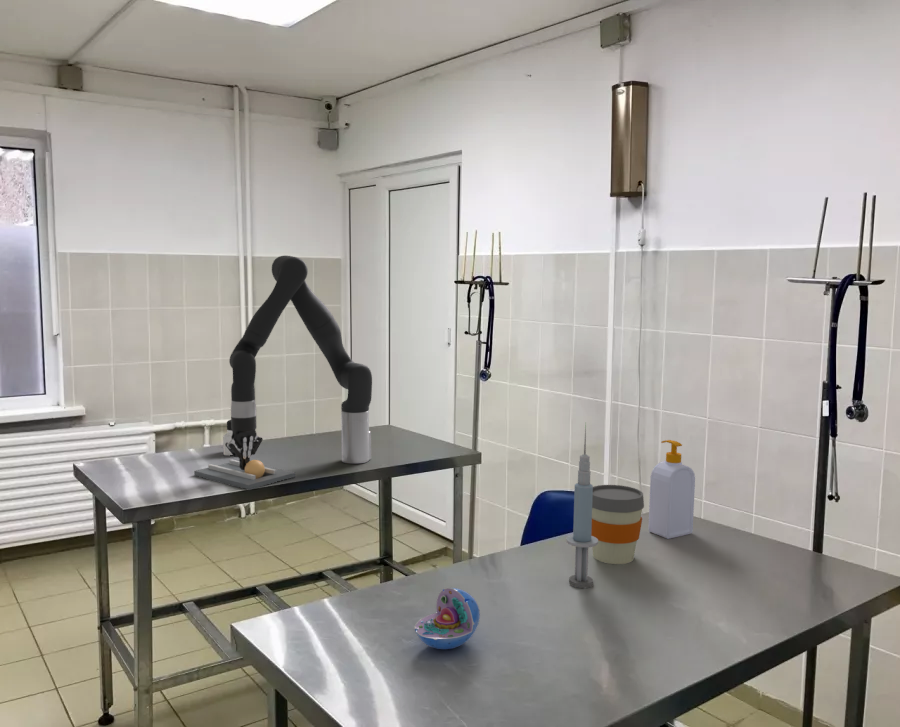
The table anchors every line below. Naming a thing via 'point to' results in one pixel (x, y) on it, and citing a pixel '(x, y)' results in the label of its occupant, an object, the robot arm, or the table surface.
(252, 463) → the ball
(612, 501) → the reusable coffee cup
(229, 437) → the medicine bottle
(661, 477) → the soap bottle
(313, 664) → the table surface
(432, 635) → the cell model
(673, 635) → the table surface
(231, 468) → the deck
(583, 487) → the syringe
